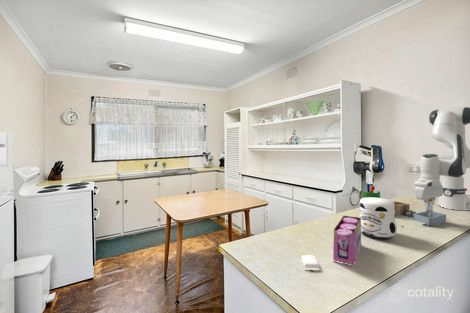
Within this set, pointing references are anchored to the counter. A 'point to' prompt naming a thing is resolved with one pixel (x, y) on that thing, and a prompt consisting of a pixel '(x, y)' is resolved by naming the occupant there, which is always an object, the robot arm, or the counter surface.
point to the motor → (371, 193)
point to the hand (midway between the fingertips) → (429, 205)
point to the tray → (433, 221)
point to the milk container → (377, 217)
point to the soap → (310, 261)
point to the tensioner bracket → (403, 210)
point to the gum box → (347, 240)
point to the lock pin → (429, 208)
